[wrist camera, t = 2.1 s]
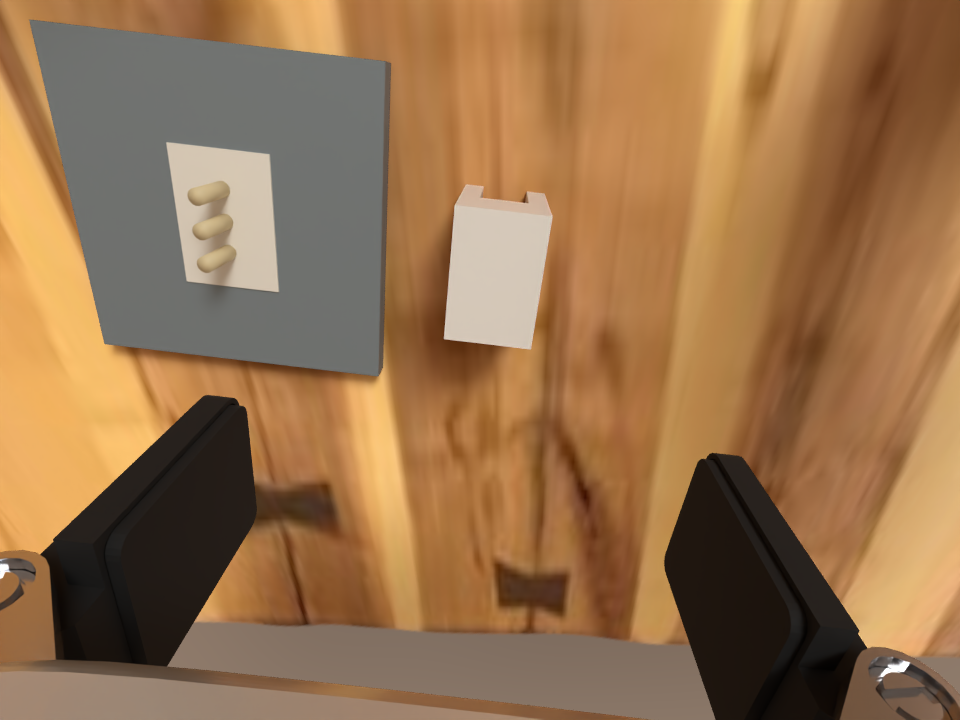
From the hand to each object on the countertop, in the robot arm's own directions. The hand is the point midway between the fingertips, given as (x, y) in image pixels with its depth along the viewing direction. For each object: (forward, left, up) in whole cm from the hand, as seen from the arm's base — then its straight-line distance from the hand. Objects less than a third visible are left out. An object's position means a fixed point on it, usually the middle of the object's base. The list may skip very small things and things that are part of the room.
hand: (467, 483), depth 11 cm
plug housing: (0, 0, -19) cm, 19 cm away
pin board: (+14, 0, -19) cm, 24 cm away
